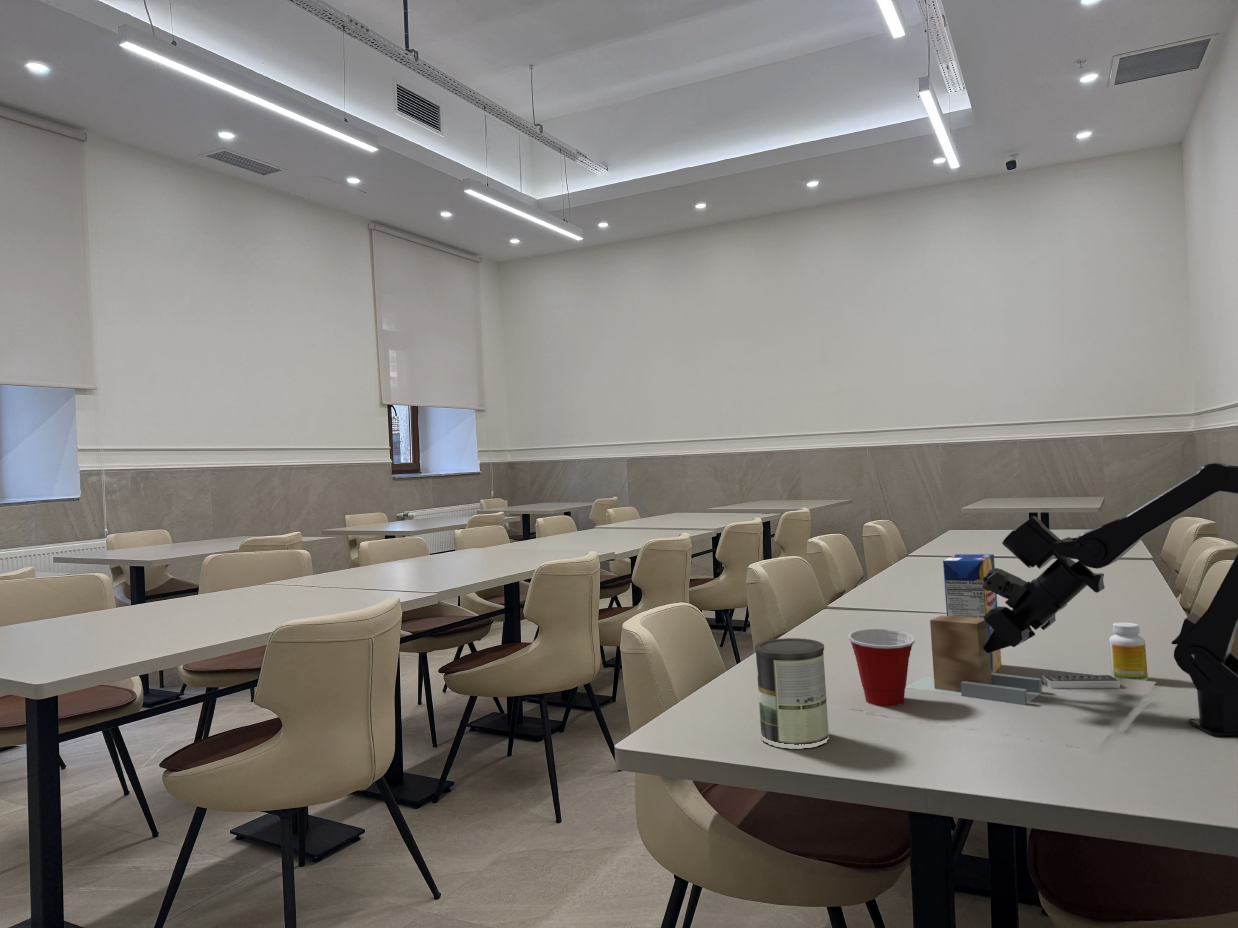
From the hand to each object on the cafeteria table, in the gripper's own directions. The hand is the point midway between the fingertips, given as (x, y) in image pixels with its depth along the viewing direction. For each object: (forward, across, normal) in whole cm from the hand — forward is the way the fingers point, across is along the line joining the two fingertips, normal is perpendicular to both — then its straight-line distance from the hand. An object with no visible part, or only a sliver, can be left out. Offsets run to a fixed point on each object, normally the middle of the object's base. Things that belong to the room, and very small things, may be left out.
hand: (986, 650), depth 135 cm
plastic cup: (+14, +14, -3) cm, 20 cm away
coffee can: (+17, +36, -5) cm, 40 cm away
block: (+8, 0, +2) cm, 8 cm away
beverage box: (+11, -14, +1) cm, 18 cm away
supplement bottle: (-6, -23, +17) cm, 29 cm away
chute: (+8, 0, +4) cm, 8 cm away
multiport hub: (-2, -12, +14) cm, 18 cm away
